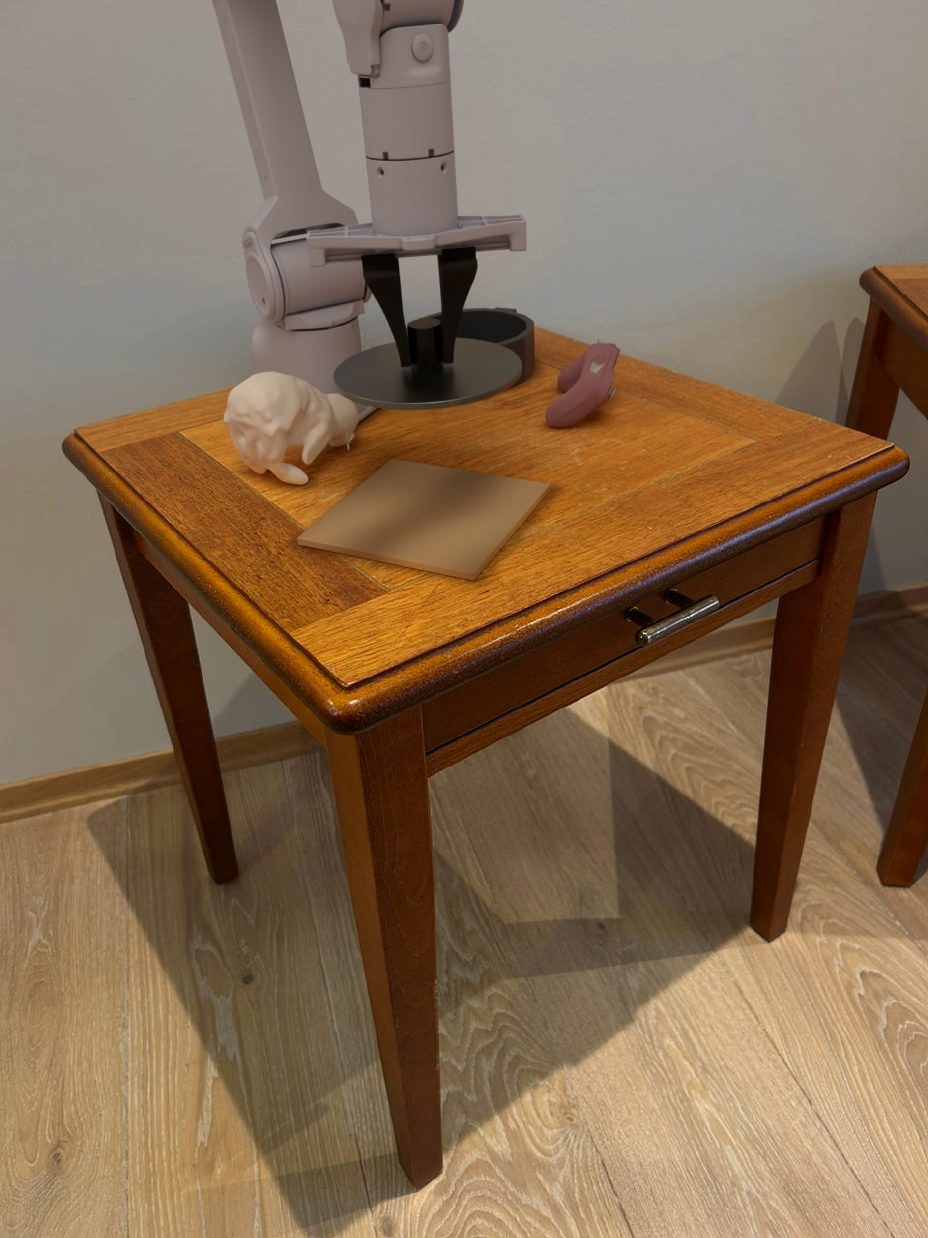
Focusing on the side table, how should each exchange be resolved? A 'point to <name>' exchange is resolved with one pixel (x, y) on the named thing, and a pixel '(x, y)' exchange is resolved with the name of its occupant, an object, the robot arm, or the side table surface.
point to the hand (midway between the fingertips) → (426, 360)
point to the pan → (500, 332)
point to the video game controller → (584, 385)
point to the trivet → (427, 518)
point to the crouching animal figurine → (286, 422)
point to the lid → (427, 372)
